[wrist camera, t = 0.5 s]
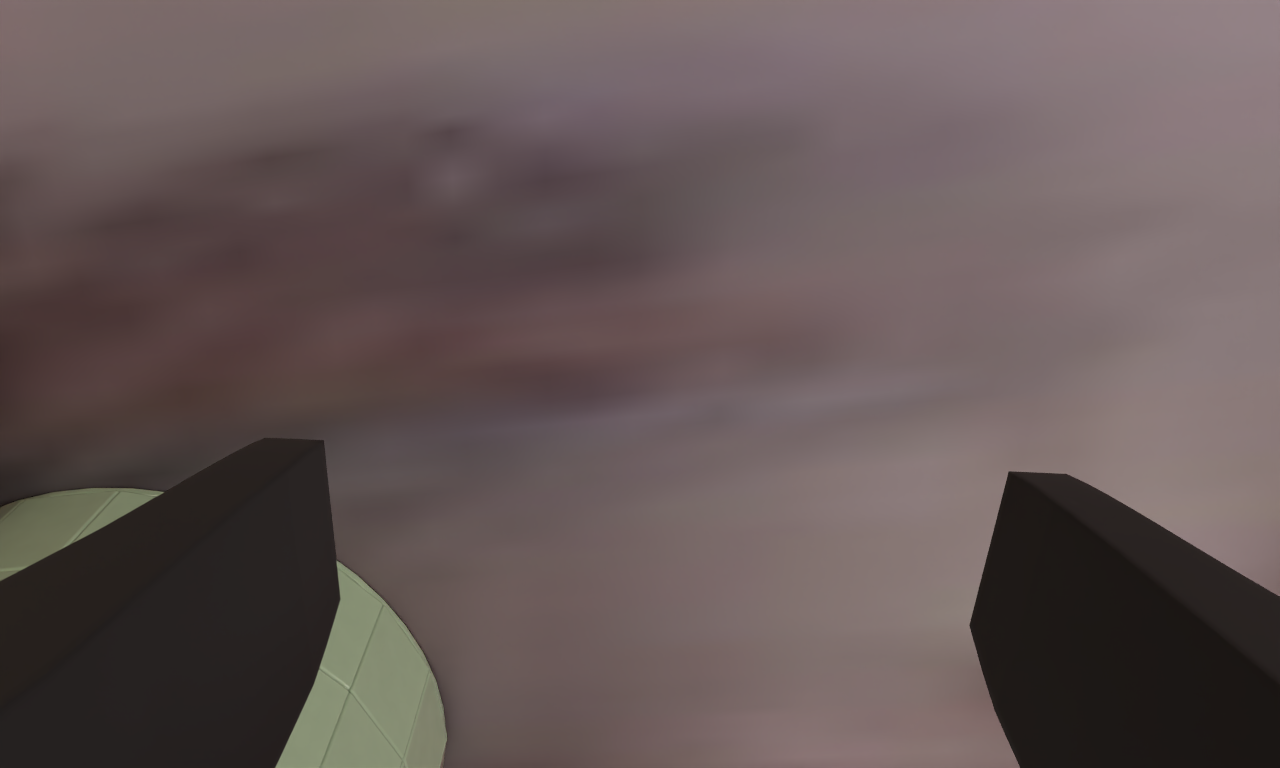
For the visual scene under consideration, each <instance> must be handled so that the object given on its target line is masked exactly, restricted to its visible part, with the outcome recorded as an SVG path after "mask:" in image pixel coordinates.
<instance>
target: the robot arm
mask: <svg viewBox="0 0 1280 768" xmlns="http://www.w3.org/2000/svg"><path fill="white" fill-rule="evenodd" d="M340 600H341V598H340V589H339V580H338V570H337V561H336V552H335V542H334V533H333V524H332V514H331V505H330V496H329V487H328V477H327V468H326V459H325V449H324V440H303V439H280V438H263V439H261V440H259V441H257V442H254V443H252V444H250V445H248V446H246V447H244V448H242V449H240V450H238V451H236V452H234V453H233V454H231V455H229V456H227V457H225V458H223V459H222V460H220V461H218V462H216V463H214V464H213V465H211V466H209V467H207V468H206V469H204V470H202V471H200V472H199V473H197V474H195V475H193V476H192V477H190V478H188V479H187V480H185V481H183V482H181V483H180V484H178V485H176V486H174V487H173V488H171V489H169V490H167V491H166V492H164V493H162V494H160V495H159V496H157V497H155V498H153V499H152V500H150V501H148V502H146V503H145V504H143V505H141V506H139V507H138V508H136V509H134V510H132V511H131V512H129V513H127V514H125V515H123V516H122V517H120V518H118V519H116V520H115V521H113V522H111V523H109V524H108V525H106V526H104V527H102V528H100V529H99V530H97V531H95V532H93V533H91V534H89V535H87V536H85V537H83V538H82V539H80V540H78V541H76V542H74V543H72V544H70V545H68V546H66V547H64V548H62V549H61V550H59V551H57V552H55V553H53V554H51V555H49V556H47V557H45V558H43V559H41V560H39V561H38V562H36V563H34V564H32V565H30V566H28V567H26V568H24V569H22V570H20V571H18V572H16V573H15V574H13V575H11V576H9V577H7V578H5V579H3V580H1V581H0V768H275V767H276V765H277V763H278V761H279V759H280V757H281V755H282V753H283V750H284V748H285V746H286V744H287V742H288V740H289V737H290V735H291V733H292V731H293V729H294V727H295V724H296V722H297V720H298V718H299V716H300V714H301V712H302V709H303V707H304V705H305V703H306V701H307V698H308V696H309V694H310V692H311V690H312V687H313V685H314V683H315V680H316V677H317V674H318V671H319V668H320V665H321V661H322V658H323V655H324V652H325V649H326V646H327V643H328V640H329V636H330V633H331V630H332V626H333V623H334V620H335V616H336V613H337V610H338V606H339V603H340ZM970 629H971V632H972V636H973V640H974V643H975V647H976V650H977V654H978V657H979V661H980V665H981V668H982V672H983V675H984V678H985V681H986V684H987V687H988V691H989V694H990V697H991V700H992V703H993V706H994V709H995V712H996V714H997V717H998V719H999V721H1000V723H1001V726H1002V728H1003V730H1004V733H1005V735H1006V737H1007V739H1008V741H1009V744H1010V746H1011V748H1012V750H1013V753H1014V755H1015V757H1016V759H1017V761H1018V764H1019V766H1020V768H1280V597H1279V596H1277V595H1276V594H1274V593H1272V592H1270V591H1269V590H1267V589H1265V588H1264V587H1262V586H1260V585H1258V584H1257V583H1255V582H1253V581H1252V580H1250V579H1248V578H1246V577H1245V576H1243V575H1241V574H1240V573H1238V572H1236V571H1235V570H1233V569H1231V568H1230V567H1228V566H1226V565H1225V564H1223V563H1221V562H1220V561H1218V560H1216V559H1215V558H1213V557H1211V556H1210V555H1208V554H1206V553H1205V552H1203V551H1201V550H1200V549H1198V548H1196V547H1195V546H1193V545H1191V544H1190V543H1188V542H1186V541H1185V540H1183V539H1181V538H1180V537H1178V536H1176V535H1175V534H1173V533H1171V532H1170V531H1168V530H1166V529H1165V528H1163V527H1161V526H1160V525H1158V524H1157V523H1155V522H1153V521H1152V520H1150V519H1148V518H1147V517H1145V516H1143V515H1142V514H1140V513H1138V512H1136V511H1135V510H1133V509H1131V508H1130V507H1128V506H1126V505H1125V504H1123V503H1121V502H1119V501H1118V500H1116V499H1114V498H1112V497H1111V496H1109V495H1107V494H1105V493H1103V492H1102V491H1100V490H1098V489H1096V488H1094V487H1092V486H1090V485H1088V484H1086V483H1085V482H1082V481H1080V480H1078V479H1076V478H1074V477H1072V476H1070V475H1067V474H1053V473H1031V472H1009V473H1008V477H1007V481H1006V485H1005V489H1004V493H1003V497H1002V500H1001V504H1000V508H999V512H998V516H997V520H996V524H995V528H994V532H993V536H992V540H991V544H990V547H989V551H988V555H987V559H986V563H985V567H984V571H983V575H982V579H981V583H980V587H979V591H978V594H977V598H976V602H975V606H974V610H973V614H972V618H971V622H970Z"/></svg>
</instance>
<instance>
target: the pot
mask: <svg viewBox="0 0 1280 768" xmlns="http://www.w3.org/2000/svg"><path fill="white" fill-rule="evenodd" d="M162 493H164V492H160V491H152V490H143V489H135V488H87V489H77V490H68V491H58V492H52V493H48V494H43V495H39V496H35V497H30V498H26V499H22V500H18V501H15V502H12V503H10V504H7V505H5V506H2V507H0V581H1V580H3V579H5V578H7V577H9V576H11V575H13V574H15V573H16V572H18V571H20V570H22V569H24V568H26V567H28V566H30V565H32V564H34V563H36V562H38V561H39V560H41V559H43V558H45V557H47V556H49V555H51V554H53V553H55V552H57V551H59V550H61V549H62V548H64V547H66V546H68V545H70V544H72V543H74V542H76V541H78V540H80V539H82V538H83V537H85V536H87V535H89V534H91V533H93V532H95V531H97V530H99V529H100V528H102V527H104V526H106V525H108V524H109V523H111V522H113V521H115V520H116V519H118V518H120V517H122V516H123V515H125V514H127V513H129V512H131V511H132V510H134V509H136V508H138V507H139V506H141V505H143V504H145V503H146V502H148V501H150V500H152V499H153V498H155V497H157V496H159V495H160V494H162ZM336 561H337V560H336ZM337 570H338V580H339V589H340V598H341V600H340V603H339V606H338V610H337V613H336V616H335V620H334V623H333V626H332V630H331V633H330V636H329V640H328V643H327V646H326V649H325V652H324V655H323V658H322V661H321V665H320V668H319V671H318V674H317V677H316V680H315V683H314V685H313V687H312V690H311V692H310V694H309V696H308V698H307V701H306V703H305V705H304V707H303V709H302V712H301V714H300V716H299V718H298V720H297V722H296V724H295V727H294V729H293V731H292V733H291V735H290V737H289V740H288V742H287V744H286V746H285V748H284V750H283V753H282V755H281V757H280V759H279V761H278V763H277V765H276V767H275V768H443V763H444V759H445V750H446V743H447V732H446V727H445V717H444V708H443V704H442V701H441V697H440V693H439V690H438V686H437V683H436V680H435V677H434V675H433V673H432V671H431V669H430V666H429V664H428V662H427V660H426V658H425V656H424V653H423V652H422V650H421V649H420V647H419V645H418V644H417V642H416V641H415V639H414V638H413V636H412V635H411V633H410V632H409V630H408V628H407V627H406V625H405V624H404V623H403V622H402V621H401V620H400V618H399V617H398V616H397V615H396V614H395V613H394V611H393V610H392V609H391V608H390V607H389V605H388V604H387V603H386V602H385V601H384V600H383V599H382V598H381V597H380V596H379V595H378V594H377V593H376V592H375V591H374V590H373V589H371V588H370V587H369V586H368V585H367V584H366V583H365V582H364V581H363V580H362V579H361V578H360V577H359V576H357V575H356V574H355V573H353V572H352V571H351V570H349V569H348V568H347V567H345V566H344V565H343V564H341V563H340V562H338V561H337Z"/></svg>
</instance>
